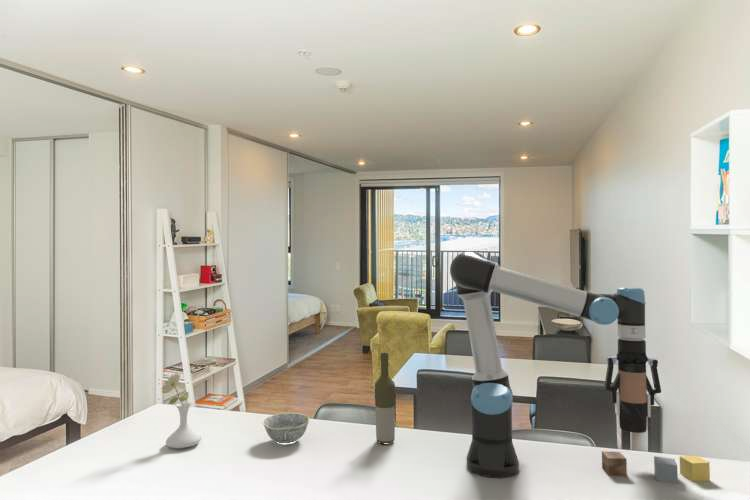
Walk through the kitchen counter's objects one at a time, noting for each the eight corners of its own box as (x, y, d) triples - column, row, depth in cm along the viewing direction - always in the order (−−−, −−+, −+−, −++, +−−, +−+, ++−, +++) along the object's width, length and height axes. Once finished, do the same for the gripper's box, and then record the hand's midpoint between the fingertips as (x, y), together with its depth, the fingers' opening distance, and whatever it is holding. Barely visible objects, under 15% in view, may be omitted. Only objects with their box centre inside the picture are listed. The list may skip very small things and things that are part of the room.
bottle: (377, 437, 172) (376, 351, 172) (397, 439, 170) (396, 352, 171) (373, 445, 165) (372, 355, 165) (394, 446, 163) (392, 355, 164)
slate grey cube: (656, 481, 136) (656, 462, 136) (654, 473, 141) (654, 456, 141) (677, 484, 134) (677, 465, 134) (674, 476, 139) (674, 458, 139)
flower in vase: (188, 436, 175) (188, 366, 175) (208, 443, 168) (208, 370, 169) (154, 448, 164) (153, 373, 165) (173, 456, 157) (173, 377, 158)
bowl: (306, 450, 161) (305, 427, 161) (257, 451, 161) (257, 427, 161) (312, 433, 177) (312, 412, 177) (268, 433, 177) (268, 412, 177)
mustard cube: (692, 481, 135) (692, 463, 135) (680, 473, 140) (679, 456, 140) (709, 480, 136) (709, 462, 136) (696, 473, 141) (696, 455, 141)
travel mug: (651, 434, 143) (650, 365, 144) (622, 432, 145) (621, 364, 145) (642, 425, 151) (641, 360, 151) (615, 423, 152) (614, 359, 153)
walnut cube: (608, 475, 140) (607, 458, 140) (602, 468, 144) (601, 451, 145) (626, 476, 139) (626, 458, 139) (619, 469, 144) (619, 451, 144)
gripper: (596, 339, 148) (597, 415, 147) (673, 342, 142) (675, 421, 142) (592, 335, 155) (593, 408, 154) (665, 338, 149) (667, 413, 149)
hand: (632, 414), depth 148 cm, fingers closed on travel mug, 8 cm apart
